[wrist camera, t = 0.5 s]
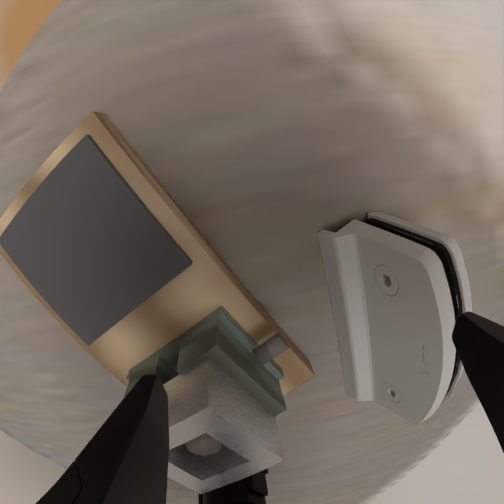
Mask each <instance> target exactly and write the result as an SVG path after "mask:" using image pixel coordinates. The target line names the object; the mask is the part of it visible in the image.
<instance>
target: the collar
mask: <svg viewBox="0 0 504 504" xmlns="http://www.w3.org/2000/svg"><path fill="white" fill-rule="evenodd" d="M163 386H164V388H165V390H166V392H167V396H168V418H169V460H168V475H167V477H168V478H170V479H172V480H174V481H176V482H178V483H179V484H181V485H183V486H185V487H187V488H189V489H191V490H193V491H195V492H197V493H199V494H203V493H206V492H209V491H211V490H214V489H217V488H220V487H223V486H225V485H228V484H231V483H233V482H236V481H238V480H241V479H243V478H246V477H248V476H251V475H253V474H255V473H258V472H260V471H262V470H265V469H267V468H269V467H271V466H273V465H276V464H278V463H280V462H282V461H284V456H283V451H282V447H281V443H280V438H279V434H278V429H277V425H276V420H275V416H274V413H273V412H272V411H271V410H269V409H268V408H267V407H266V406H265V405H263V404H262V403H261V402H260V401H259V400H258V399H256V398H255V397H254V396H253V395H252V394H251V393H249V392H248V391H247V390H246V389H245V388H244V387H243V386H241V385H240V384H239V383H238V382H237V381H236V380H235V379H234V378H232V377H231V376H230V375H229V374H228V373H227V372H226V371H225V370H224V369H223V368H221V367H220V366H219V365H218V364H217V363H216V362H215V361H214V360H213V359H212V358H211V357H210V356H208V357H206V358H205V359H203V360H202V361H200V362H198V363H197V364H195V365H194V366H192V367H191V368H189V369H187V370H186V371H184V372H183V373H181V374H179V375H178V376H176V377H175V378H173V379H171V380H170V381H168V382H166V383H165V384H163ZM205 433H207V434H209V435H210V436H212V437H213V438H215V439H216V440H217V441H219V442H220V443H221V449H220V451H218V452H217V453H215V454H212V455H206V456H204V455H197V454H194V453H192V452H190V451H189V450H188V449H187V447H186V442H188V441H190V440H192V439H194V438H196V437H198V436H200V435H202V434H205Z"/></svg>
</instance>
